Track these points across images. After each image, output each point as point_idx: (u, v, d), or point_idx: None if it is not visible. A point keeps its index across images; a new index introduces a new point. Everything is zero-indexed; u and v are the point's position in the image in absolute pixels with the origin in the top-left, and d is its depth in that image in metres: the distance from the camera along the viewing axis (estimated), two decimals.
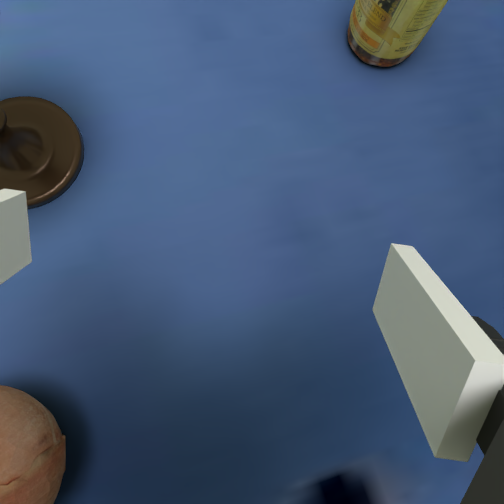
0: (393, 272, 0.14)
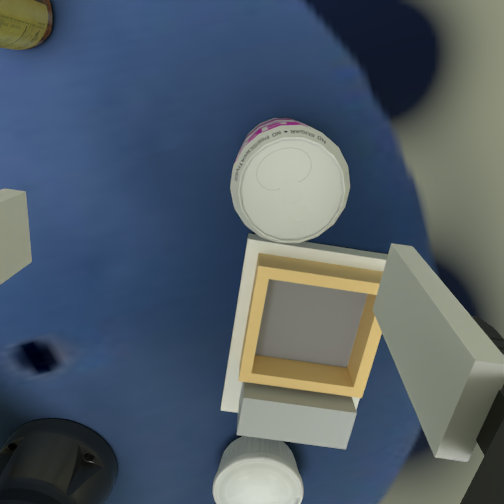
0: (393, 272, 0.14)
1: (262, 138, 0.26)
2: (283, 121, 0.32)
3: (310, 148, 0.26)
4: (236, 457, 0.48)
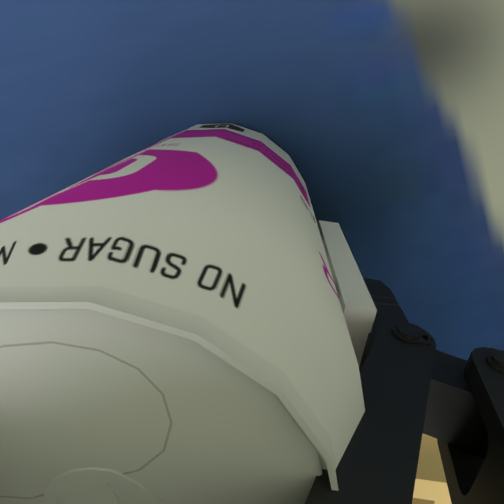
0: None
1: None
2: (169, 148, 0.11)
3: (149, 348, 0.05)
4: None
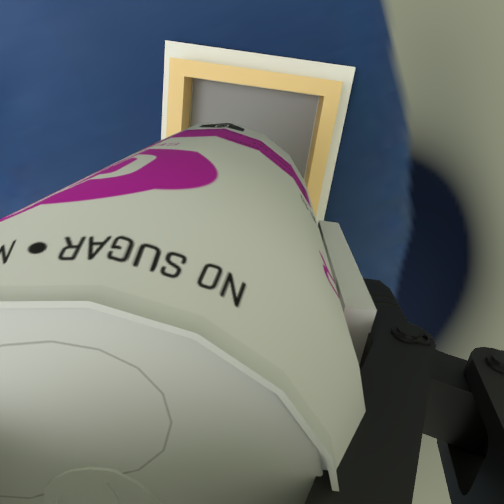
0: None
1: None
2: (169, 148, 0.11)
3: (148, 348, 0.05)
4: None
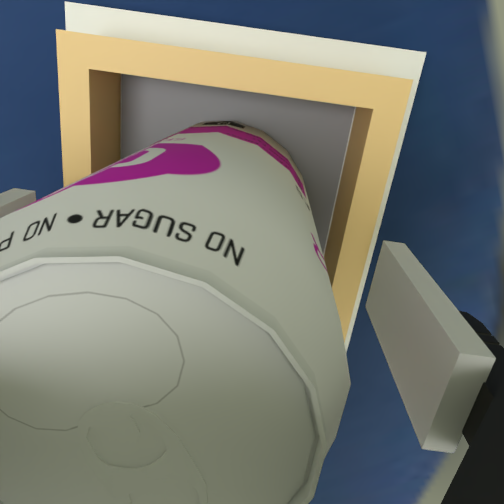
0: (385, 269, 0.14)
1: None
2: (176, 142, 0.12)
3: (166, 297, 0.06)
4: None
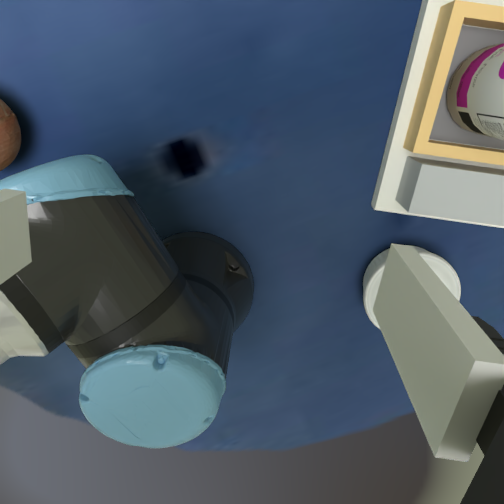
0: (393, 272, 0.14)
1: None
2: None
3: None
4: None
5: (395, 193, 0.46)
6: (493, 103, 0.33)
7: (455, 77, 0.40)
